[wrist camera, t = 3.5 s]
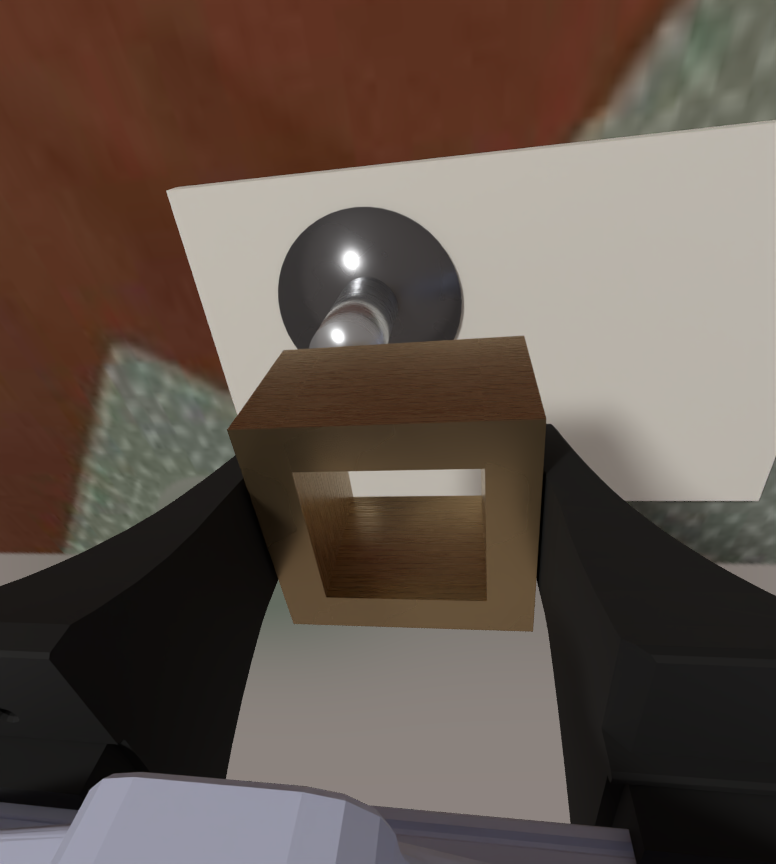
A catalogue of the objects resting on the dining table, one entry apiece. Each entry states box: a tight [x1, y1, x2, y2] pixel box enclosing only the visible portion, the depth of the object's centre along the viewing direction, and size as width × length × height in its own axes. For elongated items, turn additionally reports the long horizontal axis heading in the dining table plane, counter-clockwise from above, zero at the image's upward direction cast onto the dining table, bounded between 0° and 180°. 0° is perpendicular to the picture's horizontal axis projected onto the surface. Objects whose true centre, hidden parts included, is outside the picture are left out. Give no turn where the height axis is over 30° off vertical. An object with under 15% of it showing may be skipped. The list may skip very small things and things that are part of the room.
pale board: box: [167, 120, 776, 501], centre depth 20 cm, size 22×14×1 cm, turn 96°
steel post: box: [278, 207, 462, 349], centre depth 17 cm, size 7×7×4 cm
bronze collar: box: [227, 336, 546, 632], centre depth 12 cm, size 6×6×4 cm
